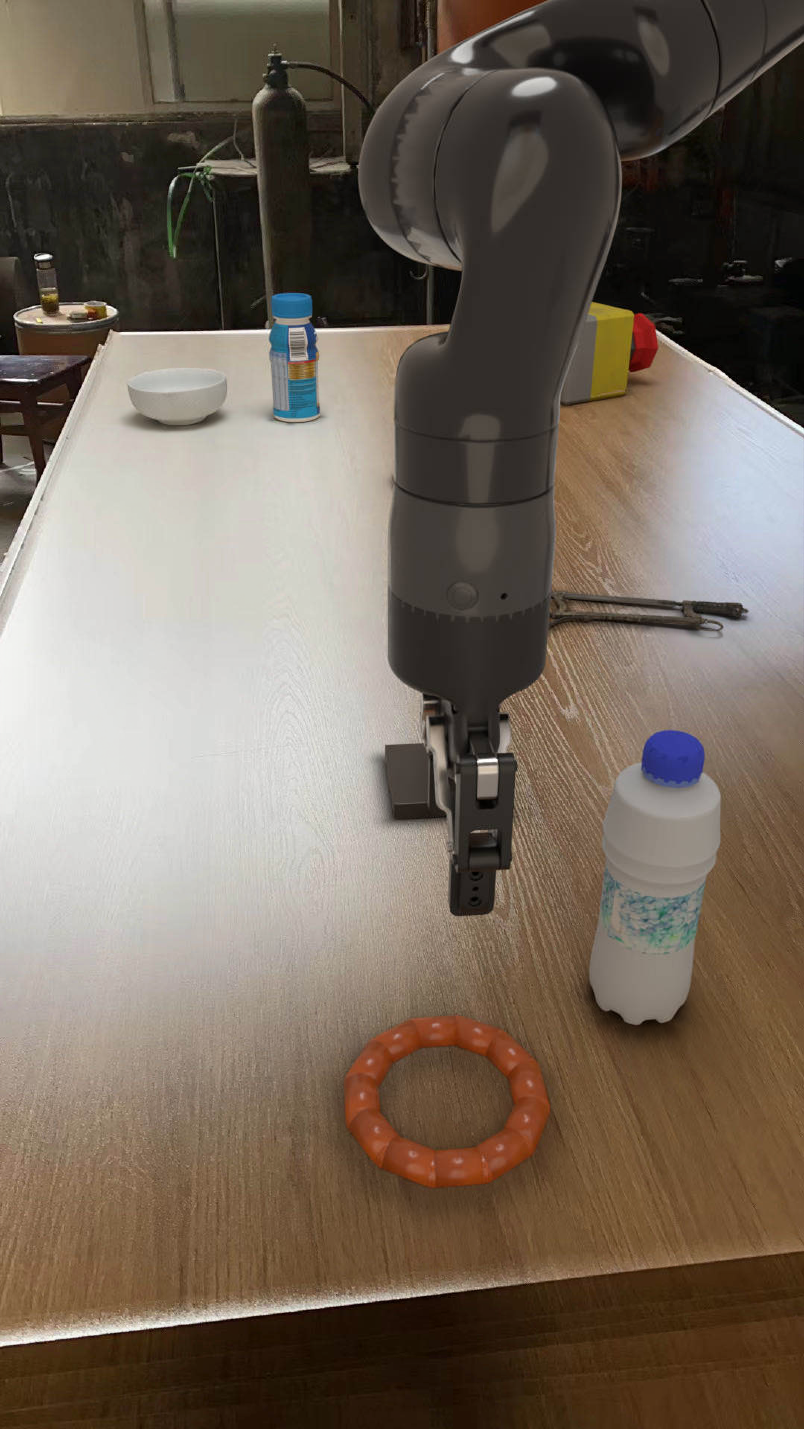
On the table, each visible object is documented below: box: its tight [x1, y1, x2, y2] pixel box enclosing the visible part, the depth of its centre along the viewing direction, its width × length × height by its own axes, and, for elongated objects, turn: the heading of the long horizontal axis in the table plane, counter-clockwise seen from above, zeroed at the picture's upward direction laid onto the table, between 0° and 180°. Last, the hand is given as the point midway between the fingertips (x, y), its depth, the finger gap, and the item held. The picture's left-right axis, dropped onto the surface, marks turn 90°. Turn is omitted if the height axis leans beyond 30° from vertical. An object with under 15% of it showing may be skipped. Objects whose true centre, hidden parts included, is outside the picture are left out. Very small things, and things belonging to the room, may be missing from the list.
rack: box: [384, 742, 446, 820], centre depth 88 cm, size 9×9×16 cm
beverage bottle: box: [268, 292, 321, 423], centre depth 185 cm, size 8×8×20 cm
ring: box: [343, 1014, 551, 1189], centre depth 62 cm, size 12×12×2 cm
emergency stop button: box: [560, 301, 659, 406], centre depth 204 cm, size 15×24×15 cm, turn 122°
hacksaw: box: [549, 590, 750, 632], centre depth 119 cm, size 24×10×2 cm, turn 76°
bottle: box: [588, 729, 722, 1026], centre depth 65 cm, size 7×7×20 cm
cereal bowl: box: [126, 367, 228, 426], centre depth 187 cm, size 17×17×7 cm
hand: (458, 858), depth 58 cm, fingers open, 8 cm apart
